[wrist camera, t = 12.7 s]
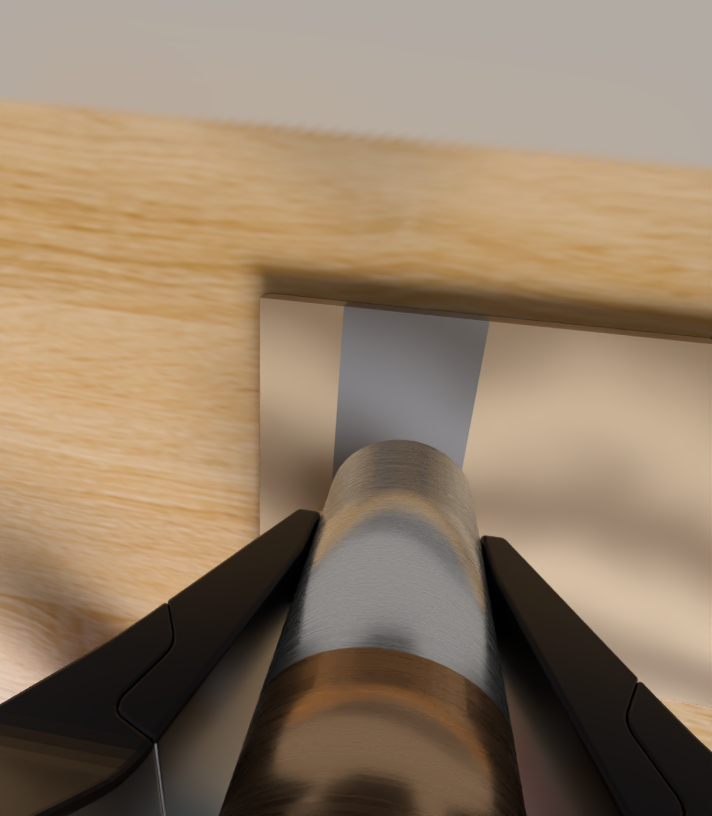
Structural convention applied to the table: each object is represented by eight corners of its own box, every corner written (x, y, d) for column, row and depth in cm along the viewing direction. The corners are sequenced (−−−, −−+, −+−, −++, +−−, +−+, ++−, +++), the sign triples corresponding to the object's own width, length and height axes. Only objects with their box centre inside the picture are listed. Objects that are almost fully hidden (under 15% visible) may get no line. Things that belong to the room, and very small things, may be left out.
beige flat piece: (731, 692, 22) (744, 713, 21) (265, 616, 24) (259, 632, 23) (913, 359, 16) (943, 368, 15) (268, 293, 18) (259, 297, 17)
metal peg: (460, 570, 11) (507, 1033, 5) (326, 550, 11) (207, 964, 5) (485, 449, 9) (588, 857, 3) (334, 430, 10) (191, 778, 4)
